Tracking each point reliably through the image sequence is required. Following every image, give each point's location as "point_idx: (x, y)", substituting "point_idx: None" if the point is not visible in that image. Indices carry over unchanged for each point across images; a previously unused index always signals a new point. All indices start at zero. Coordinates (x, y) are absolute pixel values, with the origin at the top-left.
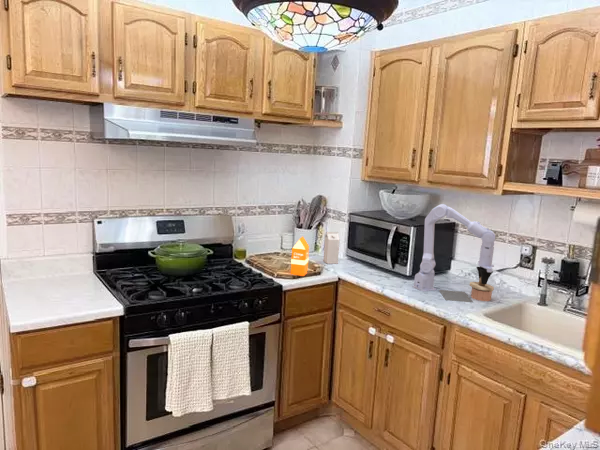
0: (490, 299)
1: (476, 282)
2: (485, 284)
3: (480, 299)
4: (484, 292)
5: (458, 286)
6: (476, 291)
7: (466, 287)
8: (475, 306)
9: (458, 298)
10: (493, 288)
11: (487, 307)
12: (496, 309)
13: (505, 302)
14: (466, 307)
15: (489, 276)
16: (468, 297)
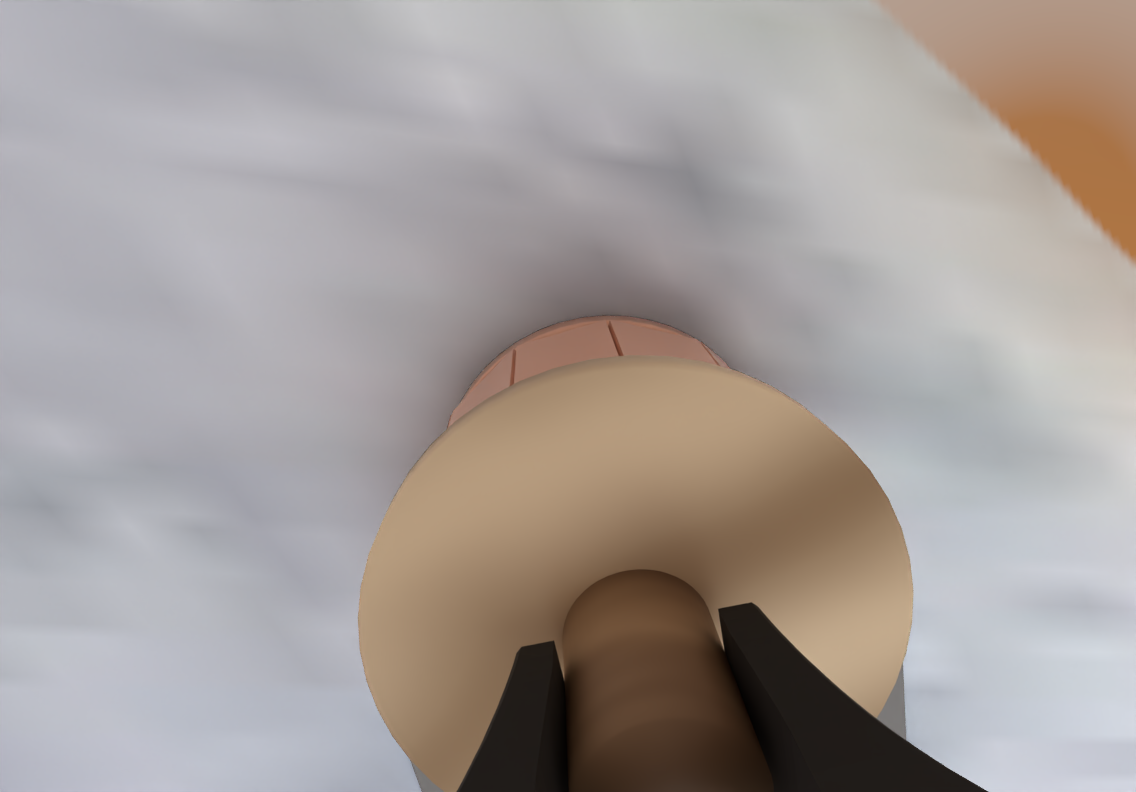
0: (680, 336)
1: (445, 727)
2: (474, 546)
3: None
4: None
5: (79, 748)
6: None
7: (46, 646)
8: (1040, 565)
9: None
10: (751, 387)
11: (1048, 406)
12: (1121, 275)
13: (649, 38)
14: (1110, 670)
15: (934, 761)
16: None
